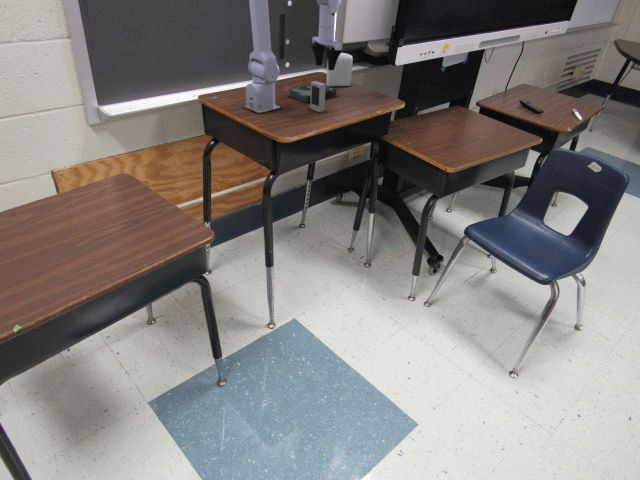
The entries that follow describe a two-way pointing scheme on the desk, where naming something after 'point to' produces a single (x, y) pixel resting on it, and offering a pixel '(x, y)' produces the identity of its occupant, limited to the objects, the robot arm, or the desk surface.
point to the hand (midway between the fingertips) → (325, 67)
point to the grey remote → (317, 96)
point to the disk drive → (309, 92)
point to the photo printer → (340, 71)
